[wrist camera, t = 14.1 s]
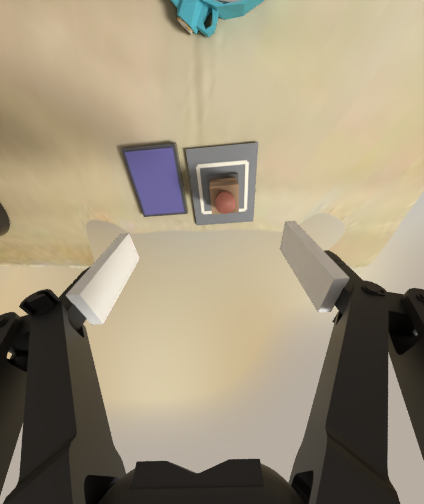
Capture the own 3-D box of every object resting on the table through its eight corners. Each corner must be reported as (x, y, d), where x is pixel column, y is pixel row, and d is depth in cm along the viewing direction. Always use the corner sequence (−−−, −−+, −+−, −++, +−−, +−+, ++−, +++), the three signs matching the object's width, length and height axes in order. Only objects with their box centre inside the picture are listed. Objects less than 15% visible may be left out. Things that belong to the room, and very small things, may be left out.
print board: (197, 224, 37) (196, 225, 36) (186, 149, 28) (185, 149, 28) (252, 220, 36) (253, 221, 35) (257, 142, 28) (258, 142, 27)
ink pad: (145, 214, 35) (143, 217, 34) (124, 148, 28) (120, 148, 27) (187, 211, 35) (187, 214, 34) (176, 143, 28) (174, 143, 27)
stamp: (210, 205, 33) (209, 222, 27) (207, 175, 30) (205, 187, 24) (237, 202, 33) (243, 219, 27) (237, 172, 30) (244, 183, 23)
